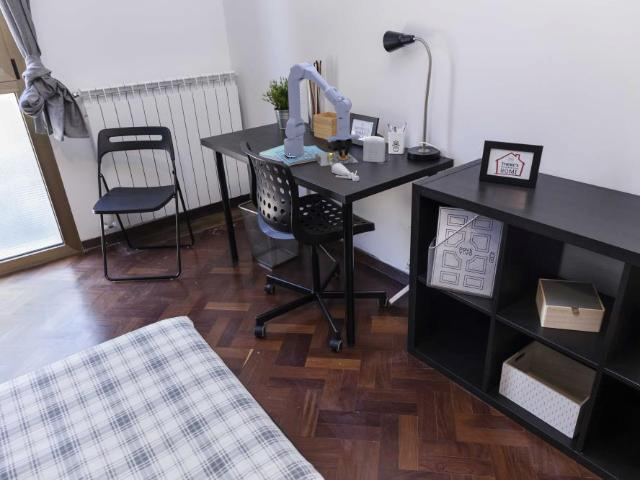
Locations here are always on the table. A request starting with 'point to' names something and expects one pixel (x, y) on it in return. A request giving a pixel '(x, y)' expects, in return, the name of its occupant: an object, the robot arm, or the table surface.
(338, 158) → the gear
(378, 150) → the photo printer
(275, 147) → the table surface
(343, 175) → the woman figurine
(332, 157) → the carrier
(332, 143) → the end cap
